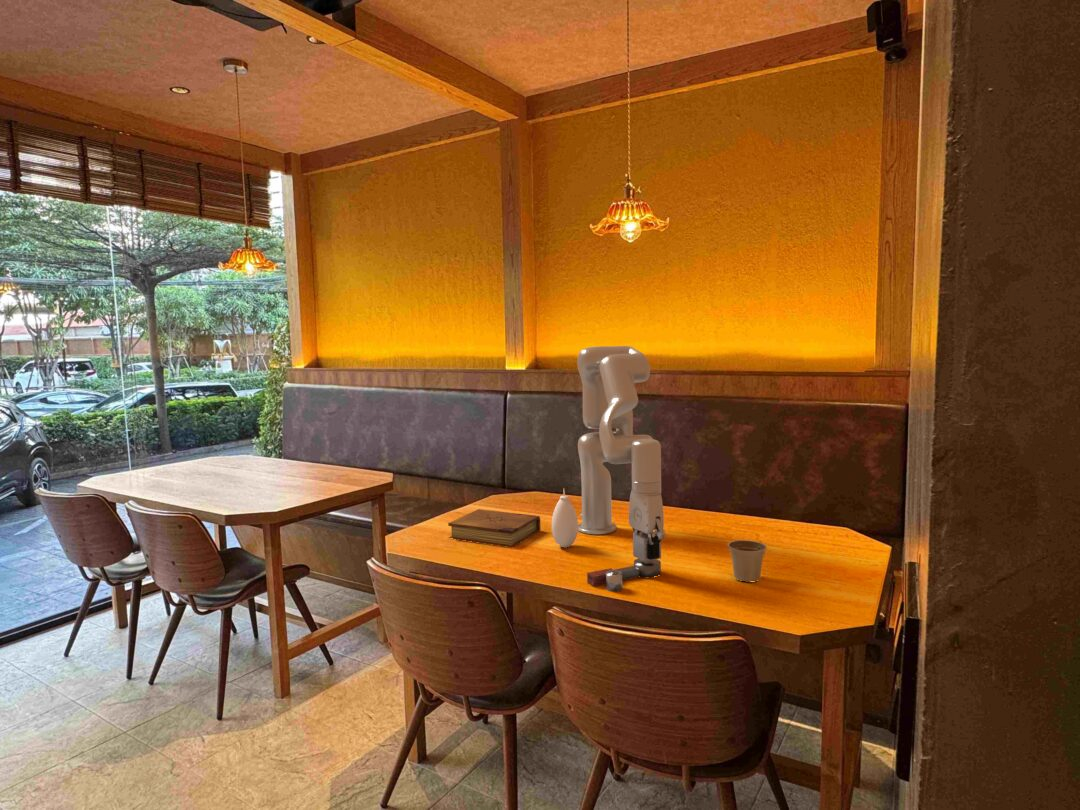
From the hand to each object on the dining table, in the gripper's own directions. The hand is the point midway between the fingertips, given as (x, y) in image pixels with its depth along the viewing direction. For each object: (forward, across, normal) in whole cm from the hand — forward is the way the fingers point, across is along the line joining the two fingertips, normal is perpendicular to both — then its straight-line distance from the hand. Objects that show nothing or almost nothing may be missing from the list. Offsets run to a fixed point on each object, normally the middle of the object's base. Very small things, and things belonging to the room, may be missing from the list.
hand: (647, 554), depth 171 cm
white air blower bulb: (+5, -30, -9) cm, 32 cm away
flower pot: (+5, +15, +20) cm, 26 cm away
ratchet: (+5, 0, -7) cm, 8 cm away
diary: (+6, -52, -23) cm, 57 cm away
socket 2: (+1, 0, 0) cm, 1 cm away
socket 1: (+5, +5, -13) cm, 15 cm away
